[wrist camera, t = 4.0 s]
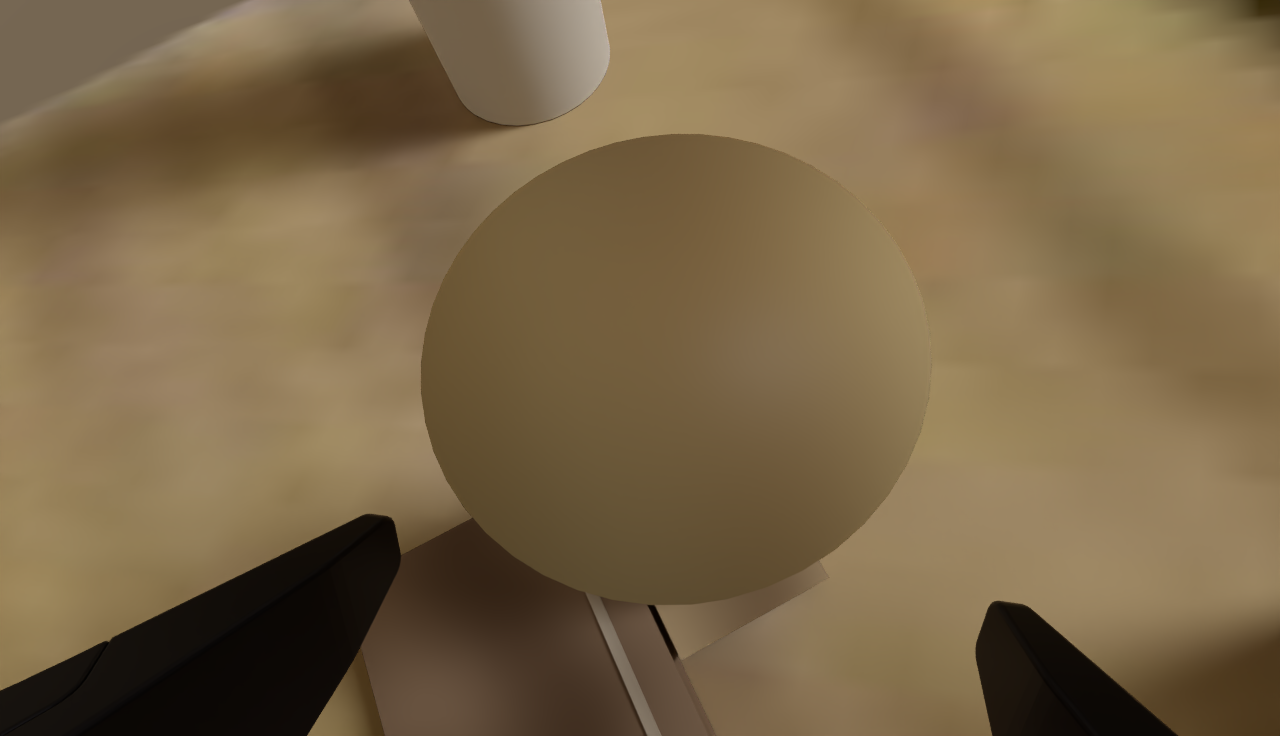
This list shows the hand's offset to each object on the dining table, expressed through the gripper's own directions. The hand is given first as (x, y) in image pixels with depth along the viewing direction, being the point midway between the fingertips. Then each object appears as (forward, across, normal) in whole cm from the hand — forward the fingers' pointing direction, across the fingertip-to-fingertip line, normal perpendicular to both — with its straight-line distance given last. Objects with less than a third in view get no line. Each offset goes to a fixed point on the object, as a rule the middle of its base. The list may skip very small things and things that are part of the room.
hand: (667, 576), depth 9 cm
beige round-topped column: (+8, 0, +5) cm, 9 cm away
